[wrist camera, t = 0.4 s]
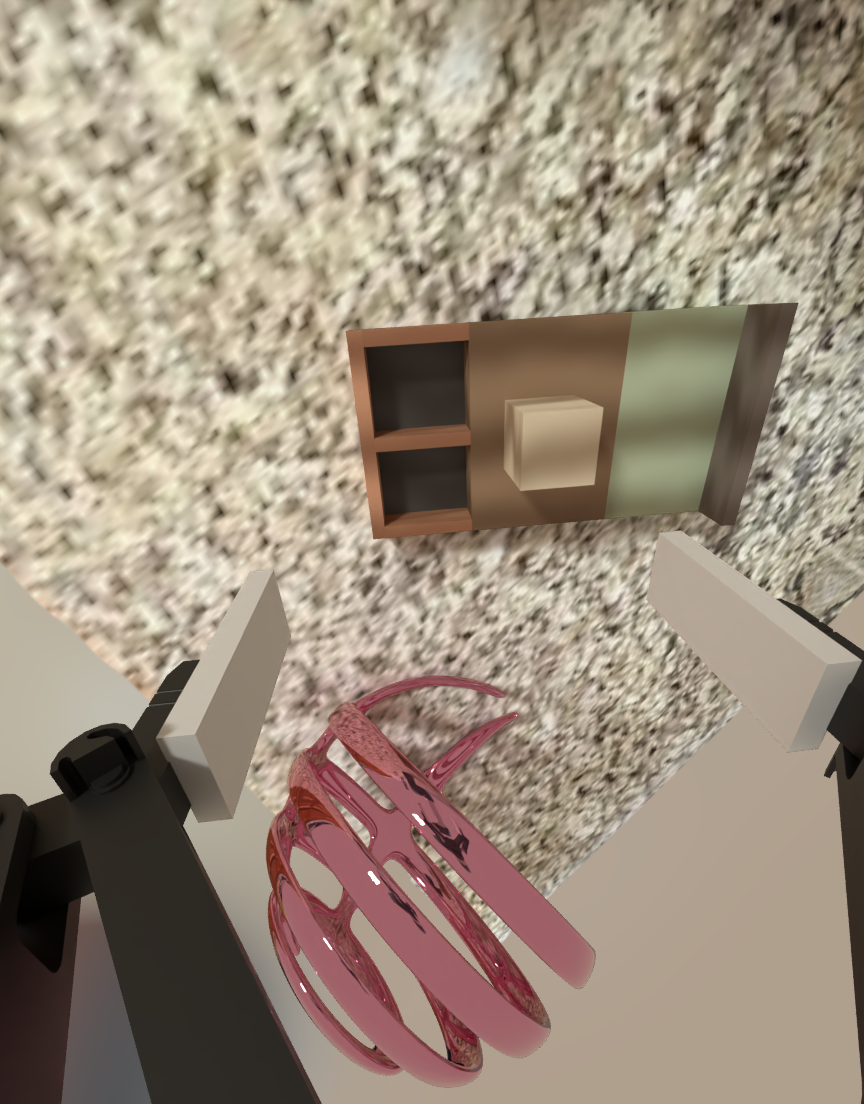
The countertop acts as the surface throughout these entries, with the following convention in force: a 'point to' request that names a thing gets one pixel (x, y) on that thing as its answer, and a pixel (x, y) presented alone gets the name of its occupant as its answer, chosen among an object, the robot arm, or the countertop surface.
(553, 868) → the countertop surface
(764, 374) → the board
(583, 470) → the maple block
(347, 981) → the spiral basket
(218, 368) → the countertop surface
